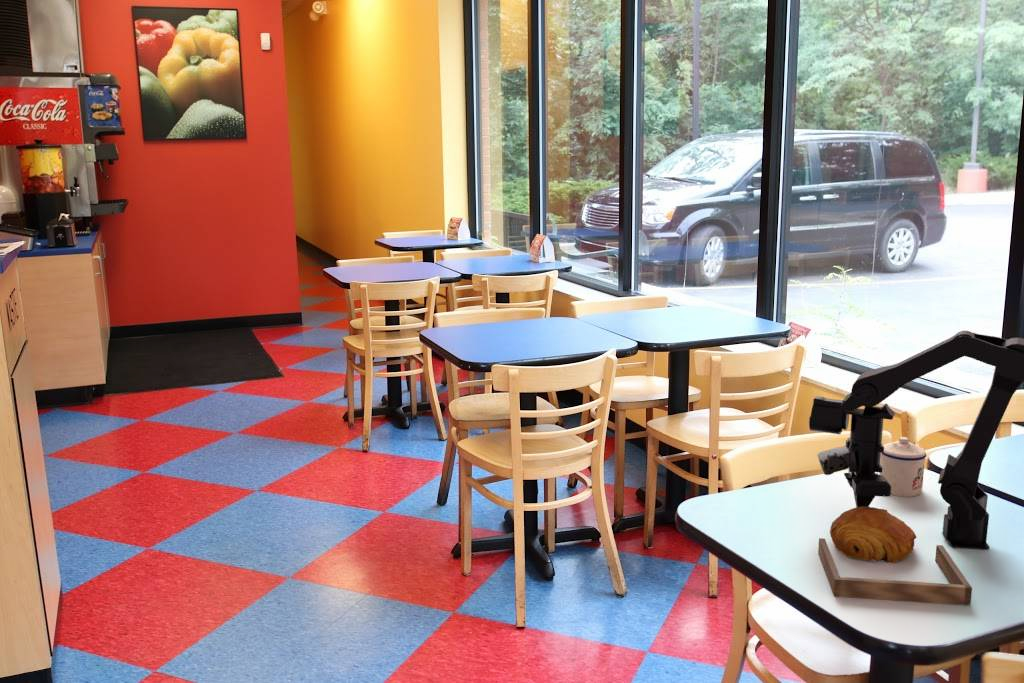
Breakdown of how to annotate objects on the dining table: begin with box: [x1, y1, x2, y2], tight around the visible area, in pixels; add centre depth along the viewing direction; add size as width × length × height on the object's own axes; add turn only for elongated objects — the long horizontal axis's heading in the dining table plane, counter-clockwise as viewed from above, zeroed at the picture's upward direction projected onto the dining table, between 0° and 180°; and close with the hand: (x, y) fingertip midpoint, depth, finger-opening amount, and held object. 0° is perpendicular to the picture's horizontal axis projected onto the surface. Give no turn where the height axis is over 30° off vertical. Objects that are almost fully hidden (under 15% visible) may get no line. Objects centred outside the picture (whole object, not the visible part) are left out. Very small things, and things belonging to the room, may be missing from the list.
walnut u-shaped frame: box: [817, 537, 973, 606], centre depth 153 cm, size 21×16×3 cm
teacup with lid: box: [878, 436, 927, 498], centre depth 192 cm, size 12×9×12 cm
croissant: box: [829, 505, 918, 564], centre depth 164 cm, size 14×16×8 cm
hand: (860, 513), depth 175 cm, fingers closed
